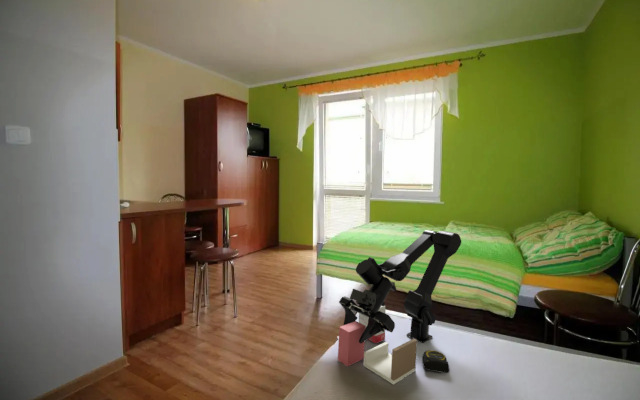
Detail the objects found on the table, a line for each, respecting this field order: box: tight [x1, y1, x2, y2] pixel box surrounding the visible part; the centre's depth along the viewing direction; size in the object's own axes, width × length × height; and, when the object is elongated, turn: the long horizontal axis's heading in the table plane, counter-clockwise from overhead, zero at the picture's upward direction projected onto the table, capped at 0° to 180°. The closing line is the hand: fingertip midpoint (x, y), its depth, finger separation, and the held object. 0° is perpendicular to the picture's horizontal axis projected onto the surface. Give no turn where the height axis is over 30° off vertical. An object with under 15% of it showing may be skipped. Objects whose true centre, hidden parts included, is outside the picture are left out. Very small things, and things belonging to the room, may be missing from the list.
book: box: [337, 320, 366, 367], centre depth 92 cm, size 7×4×10 cm, turn 130°
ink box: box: [358, 305, 386, 344], centre depth 106 cm, size 9×5×12 cm, turn 33°
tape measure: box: [421, 349, 450, 374], centre depth 90 cm, size 7×7×4 cm
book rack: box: [363, 338, 418, 385], centre depth 88 cm, size 10×10×9 cm
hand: (351, 337), depth 92 cm, fingers open, 7 cm apart
